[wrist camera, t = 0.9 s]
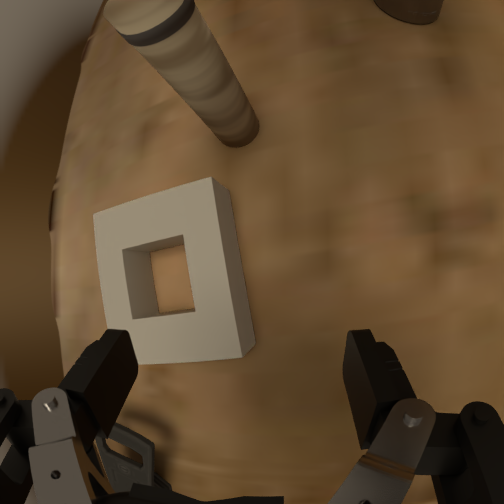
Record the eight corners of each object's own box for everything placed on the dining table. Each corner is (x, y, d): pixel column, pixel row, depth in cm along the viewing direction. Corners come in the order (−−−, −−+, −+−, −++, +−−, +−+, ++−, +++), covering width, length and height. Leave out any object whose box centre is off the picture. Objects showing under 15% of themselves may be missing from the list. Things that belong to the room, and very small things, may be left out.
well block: (121, 220, 34) (93, 213, 29) (229, 190, 31) (211, 176, 26) (141, 353, 32) (115, 364, 27) (256, 343, 29) (242, 357, 25)
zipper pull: (155, 444, 24) (159, 566, 24) (184, 418, 31) (177, 540, 30) (84, 411, 27) (104, 540, 26) (118, 393, 33) (126, 518, 33)
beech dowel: (214, 115, 32) (107, -10, 12) (255, 103, 31) (176, -42, 11) (220, 152, 31) (98, 35, 12) (263, 141, 30) (178, -4, 11)
